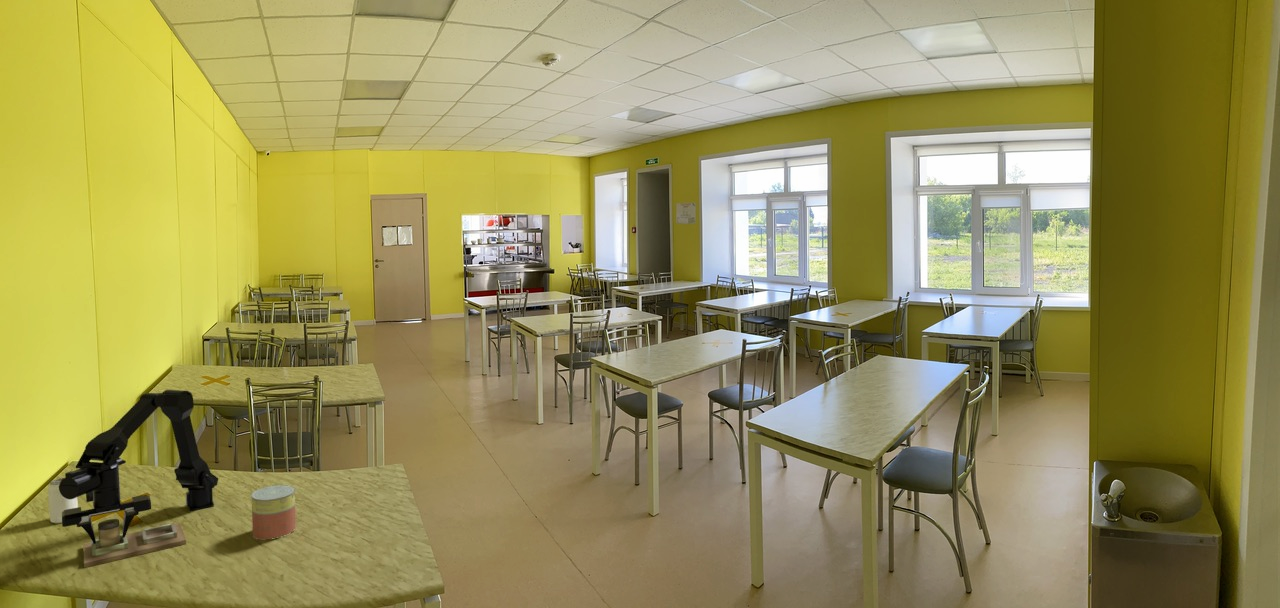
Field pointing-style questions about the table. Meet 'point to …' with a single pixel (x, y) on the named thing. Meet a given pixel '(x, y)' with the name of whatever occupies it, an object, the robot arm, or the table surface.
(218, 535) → the table surface
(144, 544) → the board
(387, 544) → the table surface
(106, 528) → the cylinder
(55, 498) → the can
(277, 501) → the canned food
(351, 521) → the table surface
